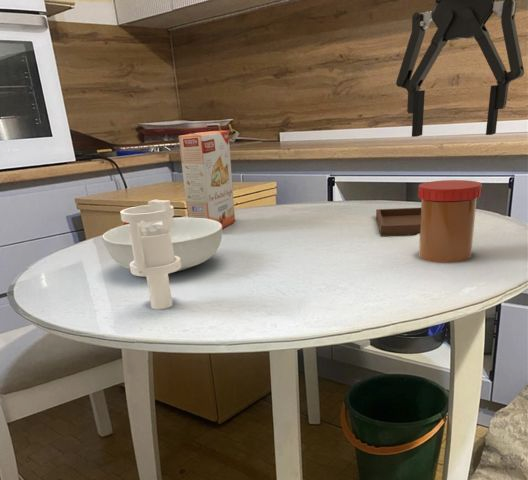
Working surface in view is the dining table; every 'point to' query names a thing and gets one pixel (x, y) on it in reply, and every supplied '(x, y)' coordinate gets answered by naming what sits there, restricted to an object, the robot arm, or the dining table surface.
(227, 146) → the cracker box
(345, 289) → the dining table surface
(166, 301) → the white framed cylinder holder
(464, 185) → the lid
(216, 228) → the serving bowl
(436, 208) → the jar
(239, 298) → the dining table surface
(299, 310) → the dining table surface
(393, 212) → the tray
